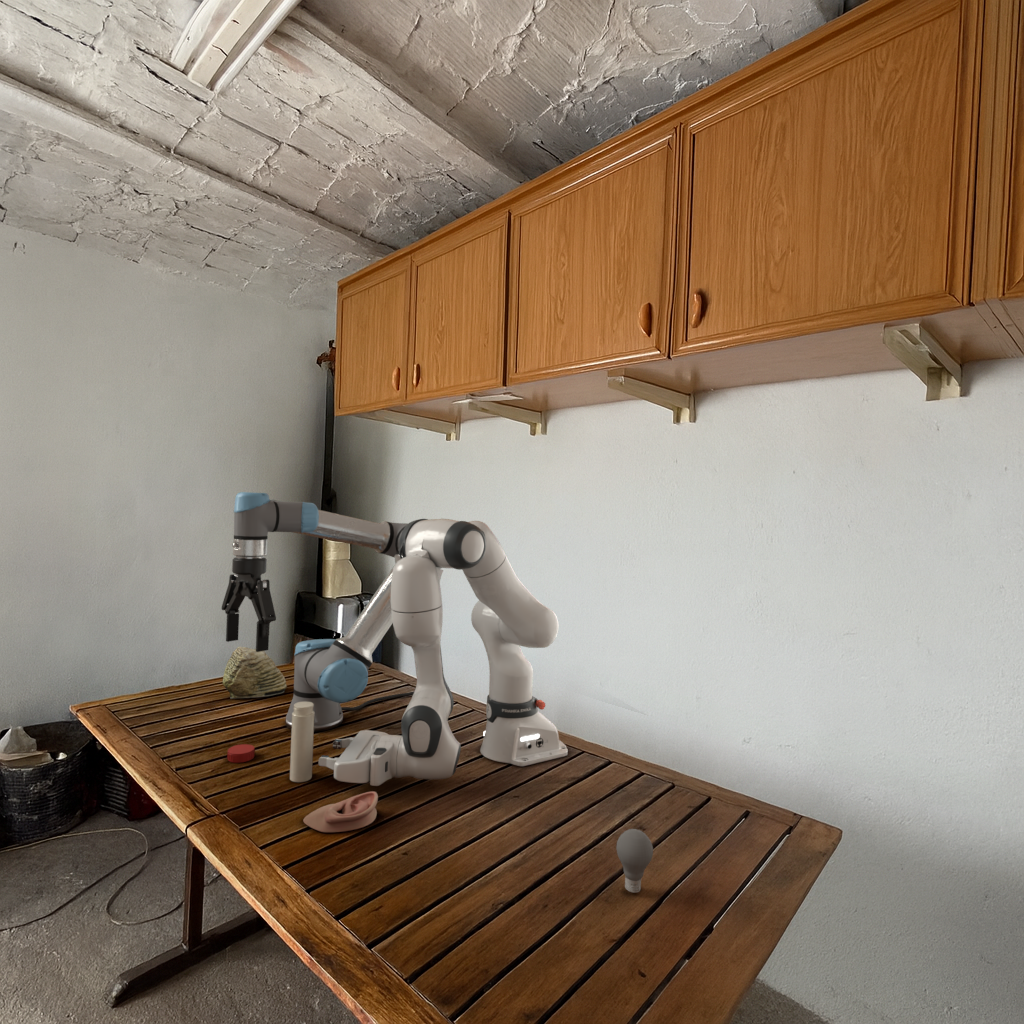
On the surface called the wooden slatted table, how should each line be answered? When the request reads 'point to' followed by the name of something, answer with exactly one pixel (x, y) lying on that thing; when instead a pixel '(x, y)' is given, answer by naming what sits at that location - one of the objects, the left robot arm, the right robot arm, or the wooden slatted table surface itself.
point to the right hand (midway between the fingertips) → (326, 751)
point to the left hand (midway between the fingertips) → (246, 645)
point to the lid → (240, 753)
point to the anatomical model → (344, 814)
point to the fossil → (252, 675)
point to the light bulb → (634, 857)
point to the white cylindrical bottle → (302, 742)
